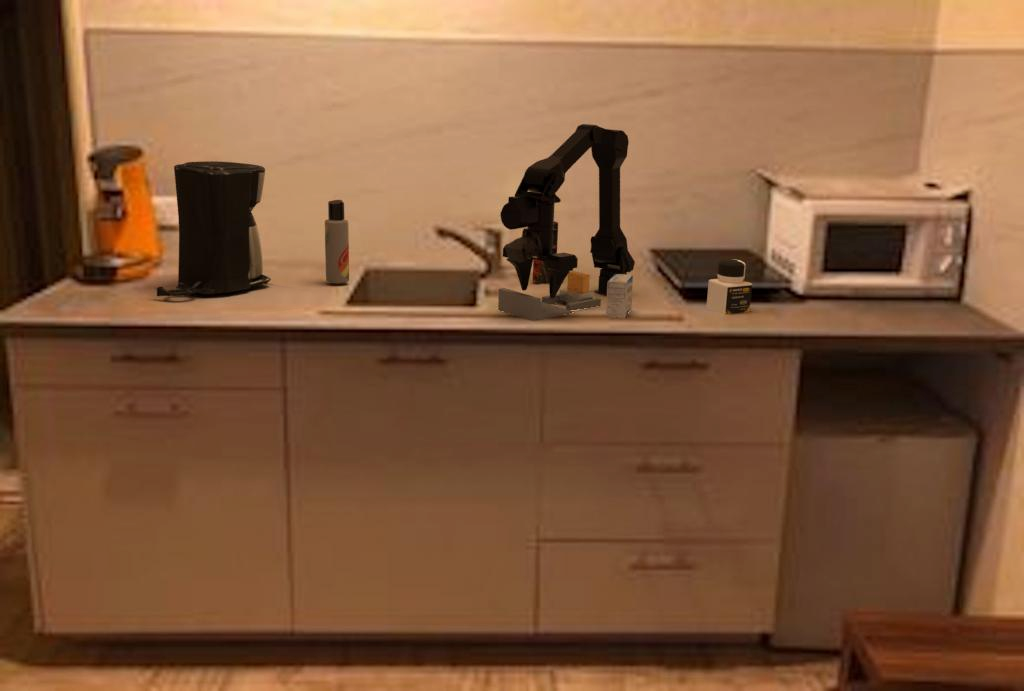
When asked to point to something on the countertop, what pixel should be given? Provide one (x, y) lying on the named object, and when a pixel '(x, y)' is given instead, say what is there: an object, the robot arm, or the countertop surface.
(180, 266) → the coffee maker
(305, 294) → the countertop surface
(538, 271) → the deodorant
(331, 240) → the lotion bottle
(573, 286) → the ram
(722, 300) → the medicine bottle
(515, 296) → the press bed
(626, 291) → the medicine box
